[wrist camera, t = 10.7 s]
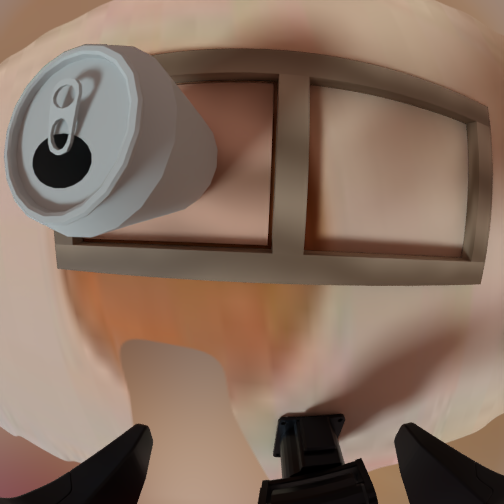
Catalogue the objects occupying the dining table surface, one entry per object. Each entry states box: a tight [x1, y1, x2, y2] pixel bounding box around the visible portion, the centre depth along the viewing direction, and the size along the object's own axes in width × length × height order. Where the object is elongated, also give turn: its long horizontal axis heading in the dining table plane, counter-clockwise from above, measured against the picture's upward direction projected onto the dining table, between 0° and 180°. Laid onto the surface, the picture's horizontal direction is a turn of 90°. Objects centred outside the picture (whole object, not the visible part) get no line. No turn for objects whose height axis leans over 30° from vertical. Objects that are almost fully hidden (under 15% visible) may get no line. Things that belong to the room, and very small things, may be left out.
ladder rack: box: [54, 49, 493, 286], centre depth 17 cm, size 16×36×2 cm, turn 88°
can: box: [4, 44, 218, 237], centre depth 12 cm, size 8×8×12 cm
